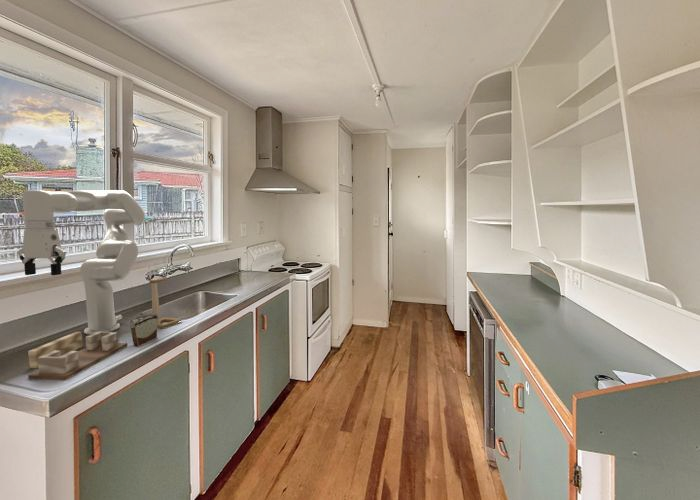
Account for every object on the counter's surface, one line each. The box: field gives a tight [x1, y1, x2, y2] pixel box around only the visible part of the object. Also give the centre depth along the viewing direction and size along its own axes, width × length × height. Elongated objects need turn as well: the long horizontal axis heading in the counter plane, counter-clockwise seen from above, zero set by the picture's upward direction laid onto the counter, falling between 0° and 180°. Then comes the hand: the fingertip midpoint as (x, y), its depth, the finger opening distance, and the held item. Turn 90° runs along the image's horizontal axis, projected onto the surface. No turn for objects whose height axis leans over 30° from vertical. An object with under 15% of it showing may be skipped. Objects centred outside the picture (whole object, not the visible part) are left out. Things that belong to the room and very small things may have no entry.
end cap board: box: [27, 331, 128, 381], centre depth 113 cm, size 26×12×6 cm, turn 177°
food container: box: [127, 313, 159, 348], centre depth 130 cm, size 12×6×10 cm, turn 168°
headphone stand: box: [148, 276, 182, 330], centre depth 150 cm, size 10×11×22 cm
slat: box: [27, 331, 84, 369], centre depth 117 cm, size 18×2×6 cm, turn 178°
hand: (43, 274), depth 115 cm, fingers open, 9 cm apart
